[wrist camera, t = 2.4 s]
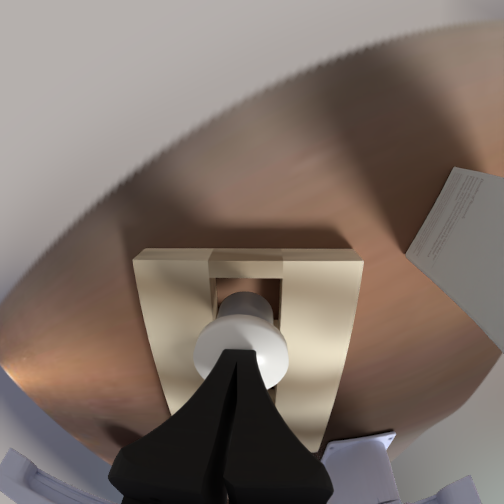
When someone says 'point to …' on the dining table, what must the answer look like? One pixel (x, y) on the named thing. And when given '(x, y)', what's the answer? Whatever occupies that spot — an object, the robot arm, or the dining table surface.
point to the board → (289, 324)
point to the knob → (244, 337)
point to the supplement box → (467, 247)
